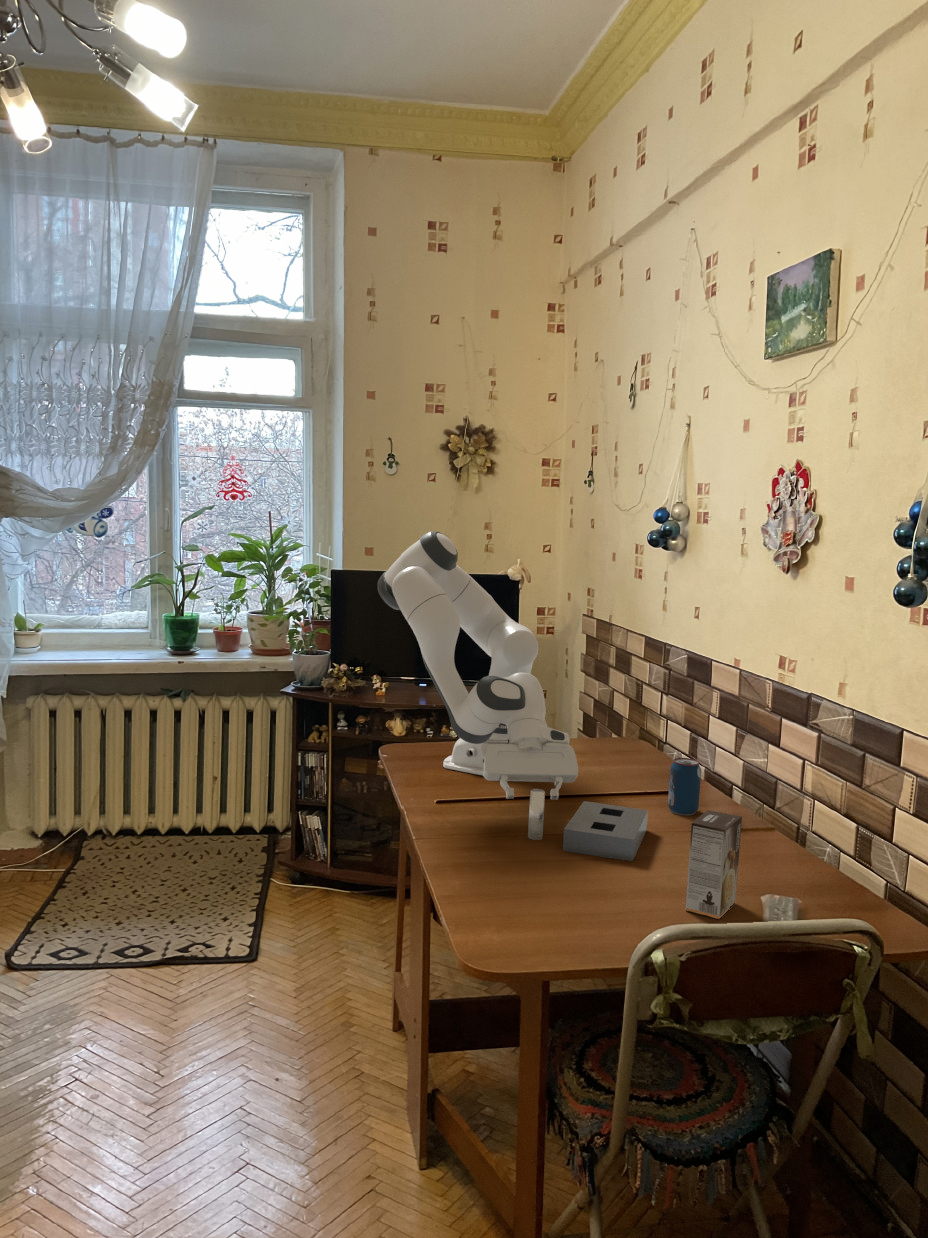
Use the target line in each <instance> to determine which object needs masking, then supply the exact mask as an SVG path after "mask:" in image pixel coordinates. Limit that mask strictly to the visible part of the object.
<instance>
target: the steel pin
mask: <svg viewBox="0 0 928 1238" xmlns="http://www.w3.org/2000/svg"><path fill="white" fill-rule="evenodd" d="M529 791H530V793H529V794H530V796H529V811H528V826H527V827H528V830H527V831H528V832H527V839H529V840H533V841H541V840H543V835H544V834H543V832H544V831H543V830H544V819H545V818H544V816H545V814H544V813H545V798H546V797H545V796H546V790H544V789H542V788H541V789H540V788H532V789H530V790H529Z"/></svg>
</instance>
